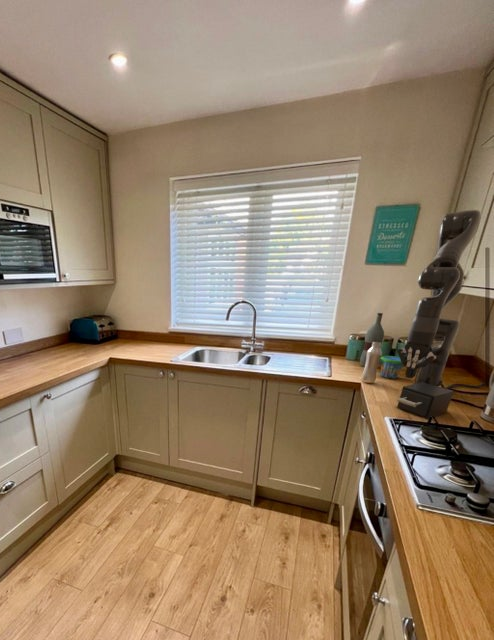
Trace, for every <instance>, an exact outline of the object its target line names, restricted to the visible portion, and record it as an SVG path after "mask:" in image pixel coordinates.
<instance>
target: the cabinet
mask: <svg viewBox="0 0 494 640" xmlns="http://www.w3.org/2000/svg"><path fill="white" fill-rule="evenodd" d="M445 388H446V387H445ZM445 388H442V387H441V386H434V385H431V384H427V383H424V382H421V383H416V384H414V383H413V384H408V385H404V386H402V389H405V390H410V391H413V392H416V393H419V394H422V395H426V396H429V397H432V400H431V403H430V406H429V409H428V412H427V415H426V416H422V415H420V414H417V413H414V412H411V411H409V410H406V409H403V408H400V407H398V405H397V406H396V408H398V409H399V410H400V409H401V410H403V411H406V412H408V413H411V414H413V415H417V416H420V417H422V418H425V419H429V417H430V416H432V417H430V418H433V417H436V416H440V415H443V414H445V413H447V412H448V408H449V406H450V403H451V401H452V397H453V395H454V390H452V389H450V388H449V389H445Z"/></svg>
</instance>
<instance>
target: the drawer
mask: <svg viewBox="0 0 494 640" xmlns="http://www.w3.org/2000/svg"><path fill="white" fill-rule="evenodd" d="M431 400H432V397H428V396H426V395H425V396H424V395H421V394H419V393H416V392H413V391H410V390H405V389H403V388H402V389H401V393H400V395H399V397H397V399H396V401H397V406H398V407H400V408H403V409H406V410H409V411H411V412H414V413H417V414H420V415H422V416H426V415H427V412H428V409H429V406H430V403H431ZM400 408H399V409H400ZM403 409H402V410H403ZM411 412H410V413H411ZM414 413H413V414H414ZM422 416H421V417H422Z"/></svg>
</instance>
